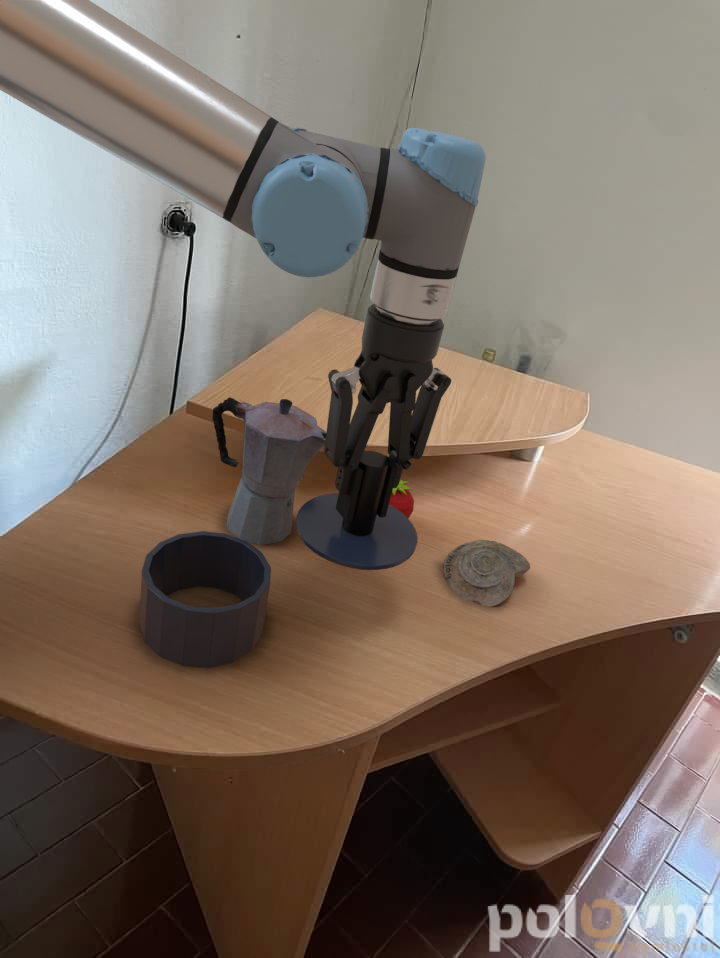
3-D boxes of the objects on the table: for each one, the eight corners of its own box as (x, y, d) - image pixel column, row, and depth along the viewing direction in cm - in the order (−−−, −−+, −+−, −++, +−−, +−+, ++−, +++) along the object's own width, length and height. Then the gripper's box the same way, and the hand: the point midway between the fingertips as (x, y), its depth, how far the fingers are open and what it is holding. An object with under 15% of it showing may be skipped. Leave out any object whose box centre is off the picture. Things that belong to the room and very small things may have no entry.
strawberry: (376, 549, 96) (391, 489, 91) (354, 518, 101) (368, 459, 96) (413, 545, 98) (430, 486, 93) (390, 514, 104) (405, 457, 99)
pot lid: (326, 584, 71) (343, 501, 66) (276, 507, 81) (288, 431, 76) (438, 563, 78) (461, 487, 73) (379, 495, 88) (396, 424, 83)
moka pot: (302, 565, 90) (329, 429, 79) (187, 536, 90) (199, 396, 80) (317, 525, 98) (343, 397, 88) (212, 498, 98) (226, 368, 88)
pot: (156, 686, 69) (160, 623, 65) (128, 600, 78) (130, 539, 74) (278, 658, 75) (289, 599, 71) (239, 582, 84) (246, 525, 80)
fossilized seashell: (430, 550, 95) (462, 517, 91) (484, 565, 101) (516, 535, 97) (456, 615, 88) (492, 581, 84) (513, 627, 93) (549, 596, 90)
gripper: (347, 324, 60) (306, 542, 71) (498, 327, 68) (439, 523, 79) (312, 294, 65) (279, 501, 77) (456, 300, 73) (406, 487, 85)
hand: (360, 512), depth 78 cm, fingers closed on pot lid, 4 cm apart
